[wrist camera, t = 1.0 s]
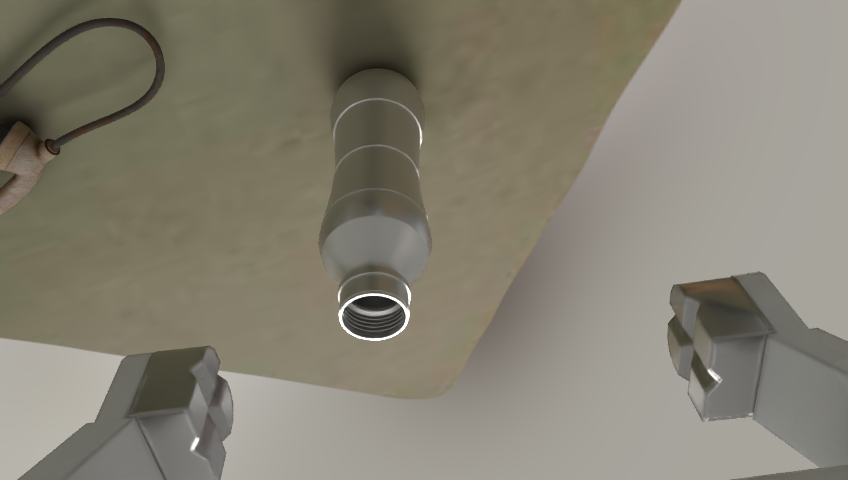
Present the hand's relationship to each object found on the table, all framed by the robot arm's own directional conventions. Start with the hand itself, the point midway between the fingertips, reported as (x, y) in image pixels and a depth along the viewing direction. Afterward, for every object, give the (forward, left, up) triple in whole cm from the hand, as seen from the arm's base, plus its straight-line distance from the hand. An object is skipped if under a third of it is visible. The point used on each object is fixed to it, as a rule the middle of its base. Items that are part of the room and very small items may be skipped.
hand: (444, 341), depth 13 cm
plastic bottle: (+14, +12, -36) cm, 40 cm away
